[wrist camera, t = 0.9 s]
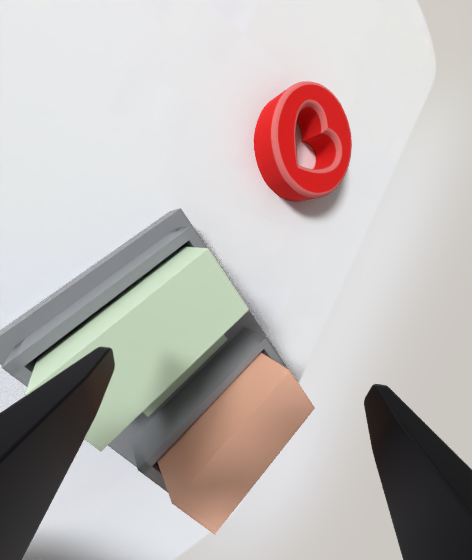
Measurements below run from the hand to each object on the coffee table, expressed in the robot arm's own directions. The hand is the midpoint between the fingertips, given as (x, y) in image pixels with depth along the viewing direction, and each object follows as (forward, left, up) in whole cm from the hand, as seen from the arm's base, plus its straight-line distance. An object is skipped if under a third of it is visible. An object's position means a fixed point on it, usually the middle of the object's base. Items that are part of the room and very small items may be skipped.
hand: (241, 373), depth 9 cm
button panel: (-2, -5, -14) cm, 15 cm away
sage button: (-2, 0, -10) cm, 10 cm away
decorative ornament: (+19, +2, -14) cm, 24 cm away
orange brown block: (-2, -10, -10) cm, 14 cm away
